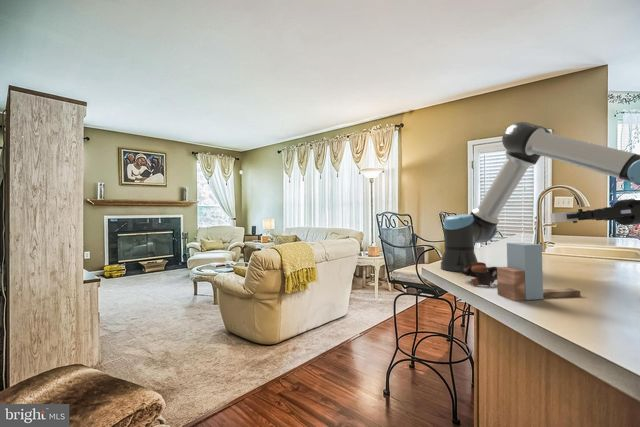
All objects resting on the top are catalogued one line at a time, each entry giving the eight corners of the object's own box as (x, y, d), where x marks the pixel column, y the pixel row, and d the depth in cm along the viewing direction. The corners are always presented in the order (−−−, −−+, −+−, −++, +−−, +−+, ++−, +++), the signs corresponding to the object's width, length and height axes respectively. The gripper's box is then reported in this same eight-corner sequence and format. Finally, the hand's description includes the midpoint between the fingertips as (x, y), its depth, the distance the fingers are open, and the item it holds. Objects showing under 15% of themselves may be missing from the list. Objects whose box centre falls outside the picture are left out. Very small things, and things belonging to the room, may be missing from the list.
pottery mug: (463, 286, 101) (457, 263, 105) (469, 294, 108) (463, 272, 112) (503, 280, 95) (496, 256, 99) (507, 288, 102) (500, 265, 106)
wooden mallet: (514, 301, 82) (513, 271, 82) (497, 294, 89) (496, 267, 89) (587, 298, 83) (586, 268, 83) (565, 291, 90) (564, 265, 90)
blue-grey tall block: (525, 299, 82) (524, 245, 82) (507, 293, 89) (506, 242, 89) (543, 299, 82) (541, 244, 83) (524, 292, 89) (522, 242, 90)
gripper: (662, 222, 82) (572, 229, 83) (617, 225, 95) (540, 231, 96) (656, 195, 83) (567, 202, 84) (613, 202, 96) (536, 208, 97)
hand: (553, 217), depth 90 cm, fingers closed
